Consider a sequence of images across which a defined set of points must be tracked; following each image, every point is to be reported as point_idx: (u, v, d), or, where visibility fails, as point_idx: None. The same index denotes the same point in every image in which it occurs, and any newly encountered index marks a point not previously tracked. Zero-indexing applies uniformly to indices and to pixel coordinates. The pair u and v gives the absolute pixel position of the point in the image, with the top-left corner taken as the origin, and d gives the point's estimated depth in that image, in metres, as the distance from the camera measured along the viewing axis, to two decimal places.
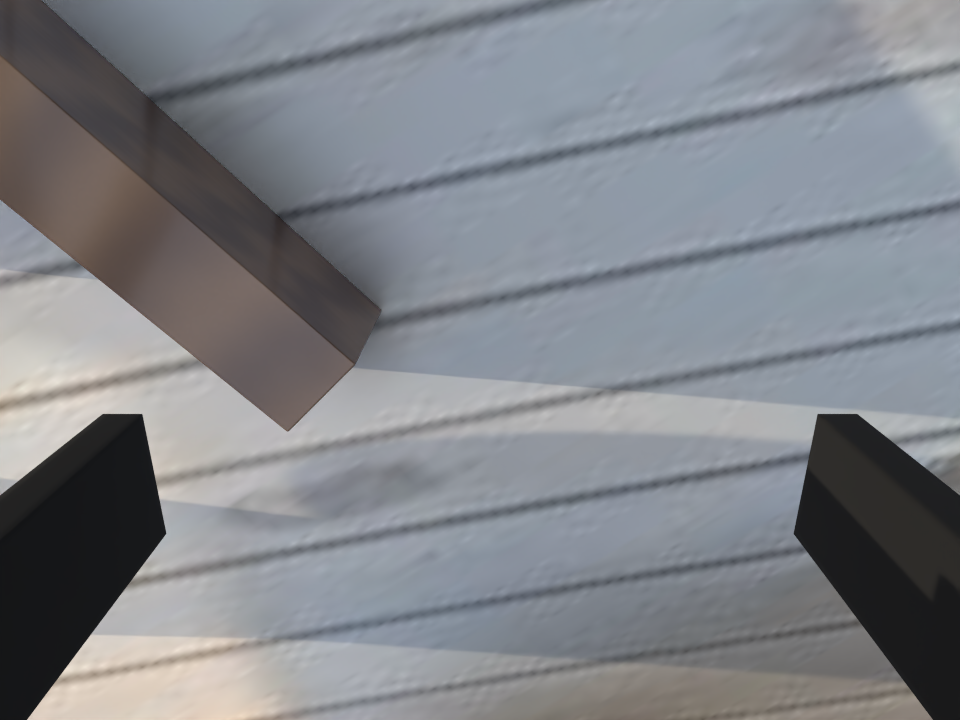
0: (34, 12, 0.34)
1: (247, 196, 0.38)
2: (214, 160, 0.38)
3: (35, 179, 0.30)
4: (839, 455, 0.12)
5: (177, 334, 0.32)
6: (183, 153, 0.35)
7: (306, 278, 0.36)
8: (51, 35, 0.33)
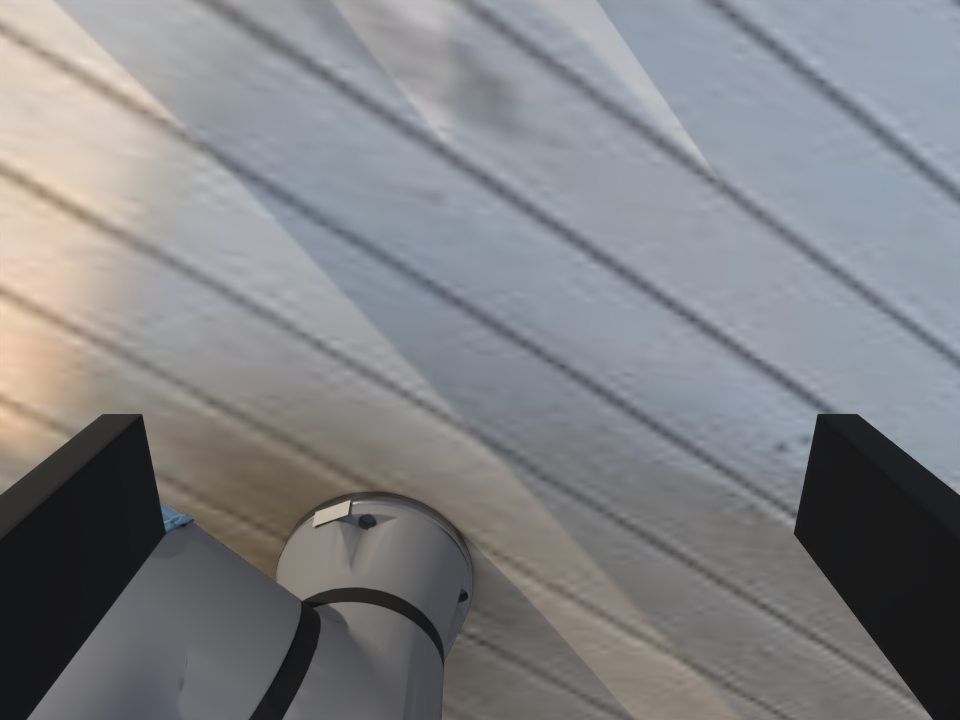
0: None
1: None
2: None
3: None
4: (839, 455, 0.12)
5: None
6: None
7: None
8: None
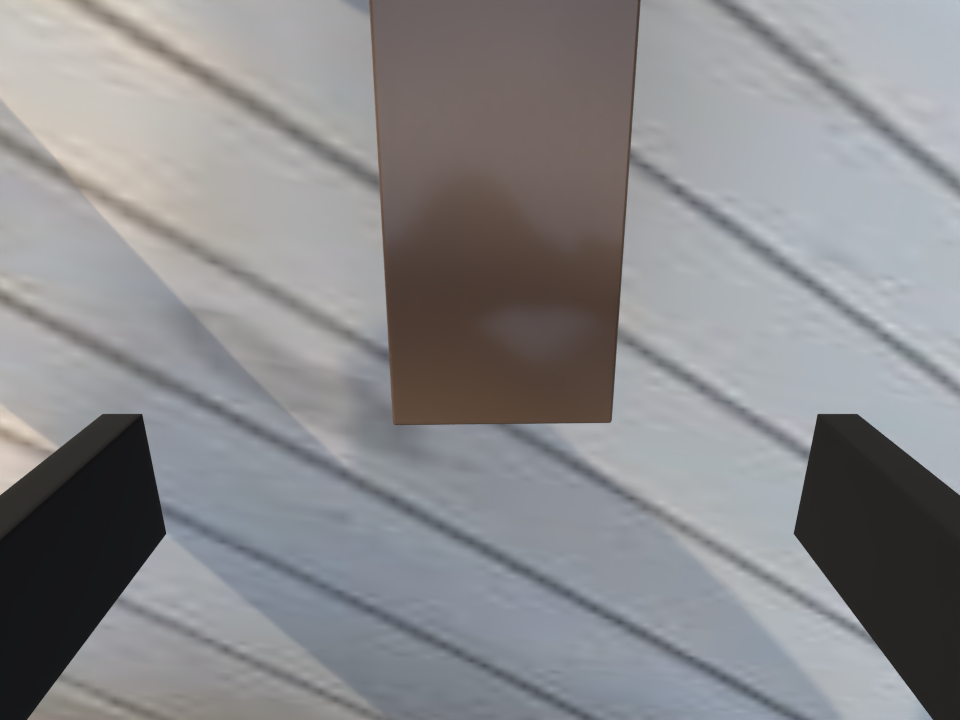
0: None
1: None
2: None
3: None
4: (839, 455, 0.12)
5: (394, 109, 0.14)
6: None
7: None
8: None
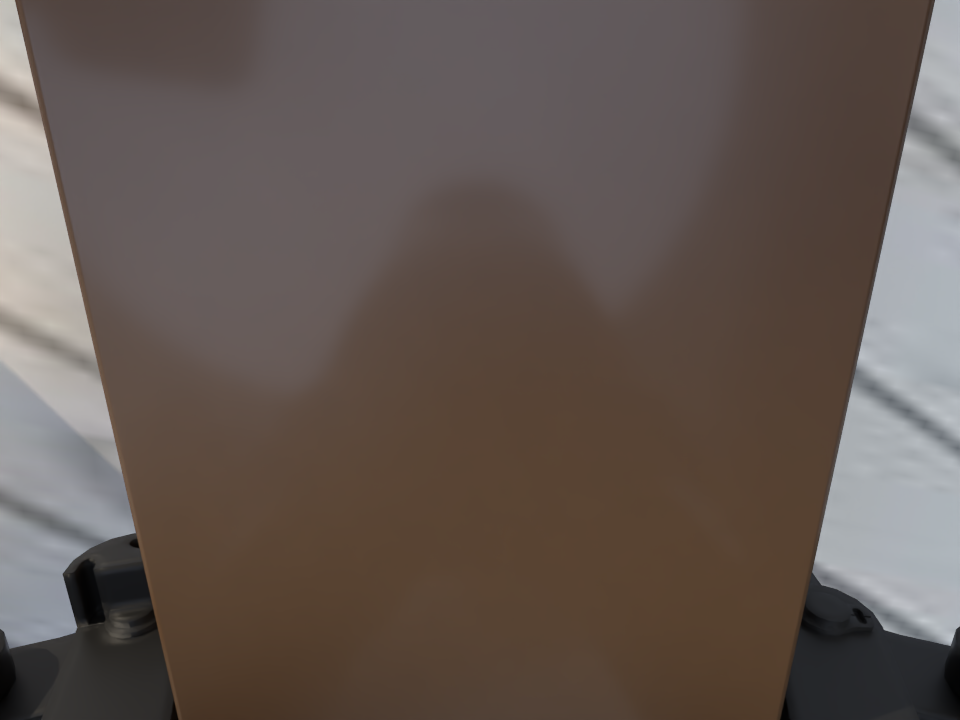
0: None
1: None
2: None
3: None
4: None
5: (179, 508, 0.05)
6: None
7: None
8: None
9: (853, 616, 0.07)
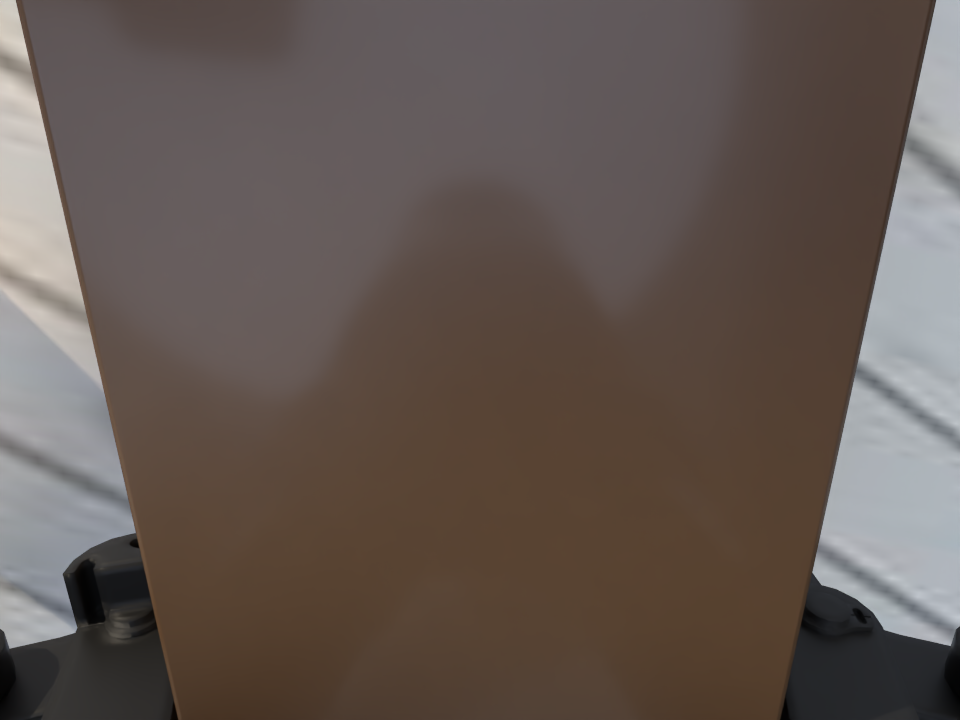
0: None
1: None
2: None
3: None
4: None
5: (180, 508, 0.05)
6: None
7: None
8: None
9: (854, 616, 0.07)
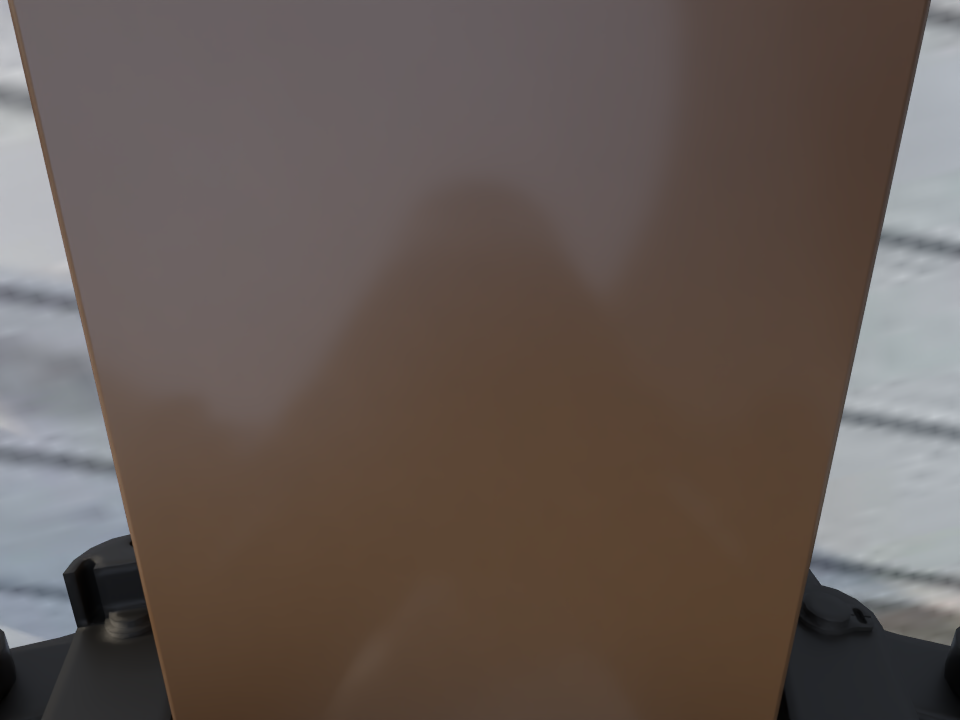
0: None
1: None
2: None
3: None
4: None
5: (172, 504, 0.05)
6: None
7: None
8: None
9: (855, 616, 0.07)
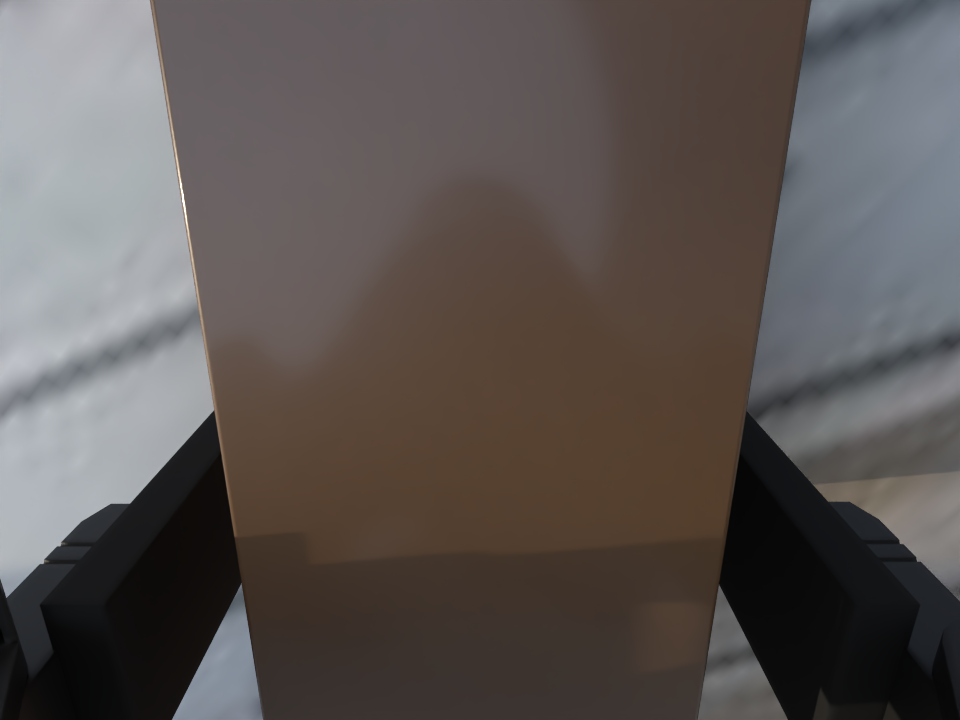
0: None
1: None
2: None
3: None
4: None
5: (253, 417, 0.07)
6: None
7: None
8: None
9: None
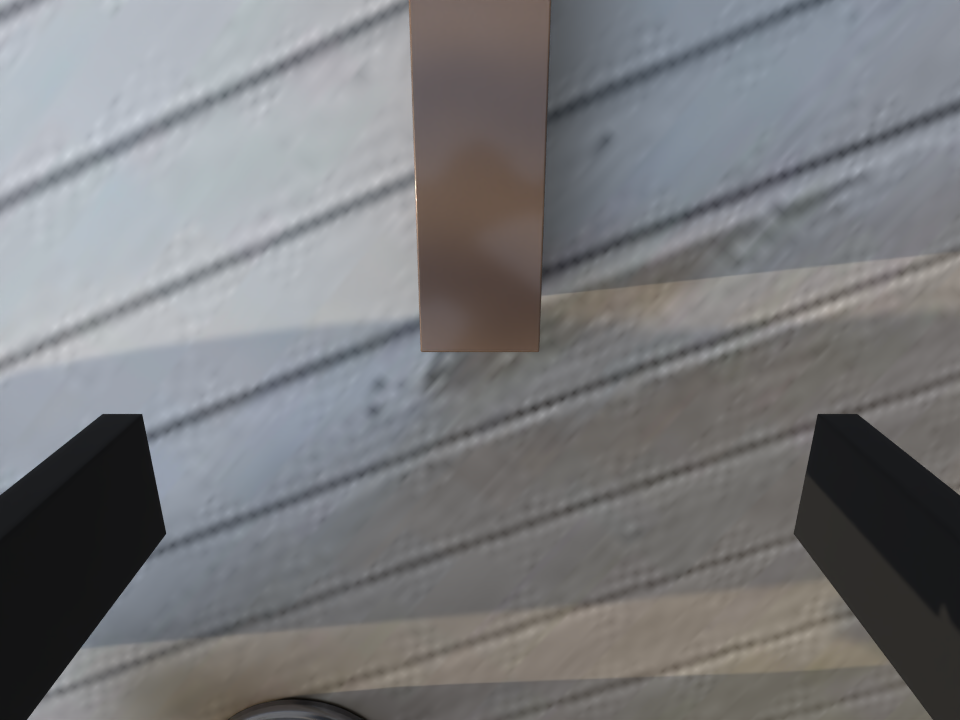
0: None
1: None
2: None
3: None
4: (839, 455, 0.12)
5: (424, 188, 0.27)
6: None
7: None
8: None
9: None
